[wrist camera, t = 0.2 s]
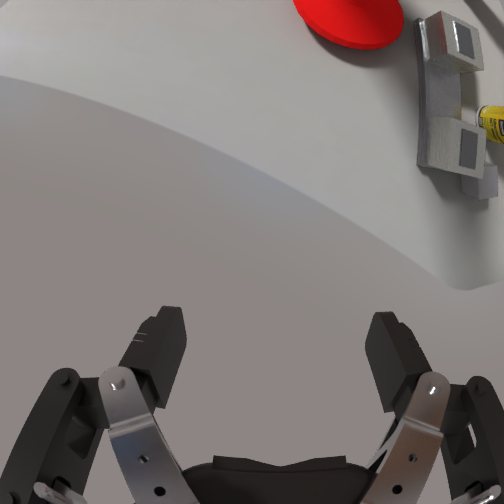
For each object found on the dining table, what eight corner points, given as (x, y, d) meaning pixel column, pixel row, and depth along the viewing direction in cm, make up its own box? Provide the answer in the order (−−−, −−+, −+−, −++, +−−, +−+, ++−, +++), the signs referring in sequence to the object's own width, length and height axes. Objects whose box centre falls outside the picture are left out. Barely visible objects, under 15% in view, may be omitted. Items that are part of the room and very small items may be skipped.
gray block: (459, 162, 33) (477, 168, 28) (479, 160, 32) (497, 165, 27) (461, 191, 35) (478, 200, 30) (480, 188, 34) (497, 196, 29)
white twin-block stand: (412, 21, 24) (437, 6, 17) (452, 36, 23) (480, 27, 16) (416, 164, 34) (445, 174, 27) (455, 172, 34) (485, 183, 26)
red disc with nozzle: (378, 74, 29) (399, 65, 23) (273, 26, 28) (274, 5, 21) (406, 4, 23) (425, -11, 16) (311, -41, 21) (317, -64, 15)
